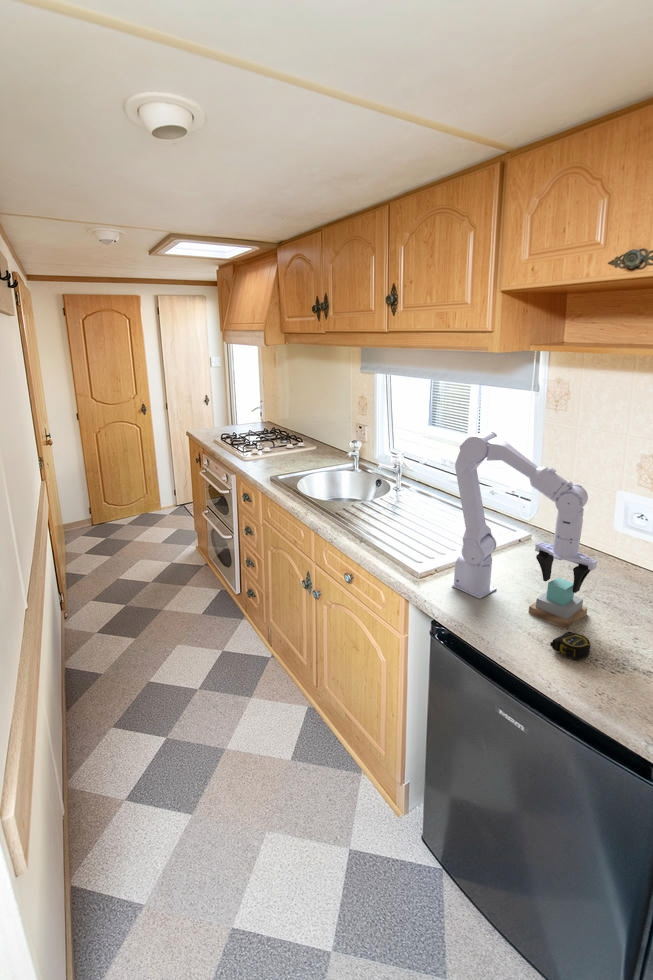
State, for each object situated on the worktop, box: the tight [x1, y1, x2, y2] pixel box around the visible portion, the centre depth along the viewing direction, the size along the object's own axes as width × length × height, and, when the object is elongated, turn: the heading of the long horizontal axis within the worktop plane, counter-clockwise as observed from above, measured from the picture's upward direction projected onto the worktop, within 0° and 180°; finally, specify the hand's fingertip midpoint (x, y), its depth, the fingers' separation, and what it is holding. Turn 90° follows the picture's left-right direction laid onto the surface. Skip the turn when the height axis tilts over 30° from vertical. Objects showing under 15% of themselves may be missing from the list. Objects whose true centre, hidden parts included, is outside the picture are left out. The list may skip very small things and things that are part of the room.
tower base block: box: [528, 602, 588, 630], centre depth 132 cm, size 10×10×2 cm
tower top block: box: [536, 591, 584, 620], centre depth 131 cm, size 8×8×2 cm
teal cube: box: [546, 577, 575, 606], centre depth 130 cm, size 4×4×4 cm
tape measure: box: [550, 630, 591, 660], centre depth 116 cm, size 7×7×4 cm
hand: (560, 585), depth 130 cm, fingers open, 7 cm apart
